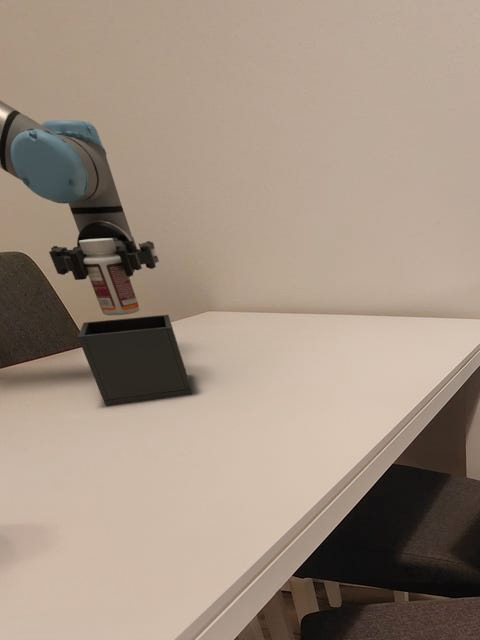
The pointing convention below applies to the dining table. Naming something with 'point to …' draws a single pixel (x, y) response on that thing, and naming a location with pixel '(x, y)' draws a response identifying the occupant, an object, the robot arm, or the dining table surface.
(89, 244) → the pill bottle
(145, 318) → the trash bin
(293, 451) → the dining table surface
